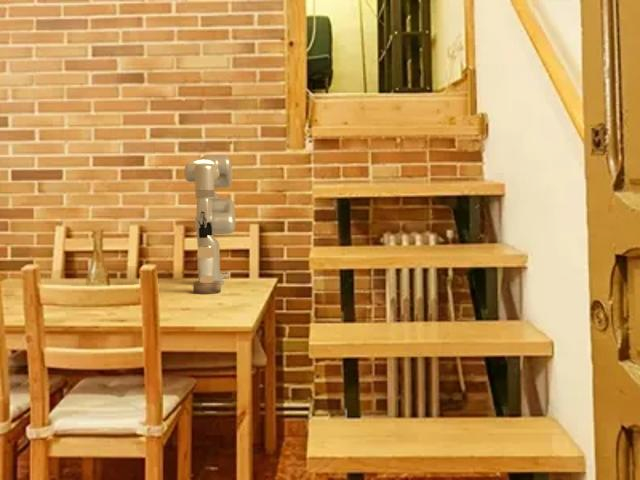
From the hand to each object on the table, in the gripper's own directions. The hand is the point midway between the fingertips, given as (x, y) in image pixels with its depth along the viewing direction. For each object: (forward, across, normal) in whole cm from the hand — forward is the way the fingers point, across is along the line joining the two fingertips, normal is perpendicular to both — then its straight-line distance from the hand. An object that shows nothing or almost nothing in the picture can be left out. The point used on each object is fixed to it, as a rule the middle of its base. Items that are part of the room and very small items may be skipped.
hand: (205, 236), depth 291 cm
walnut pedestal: (+23, +1, 0) cm, 23 cm away
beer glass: (+19, +1, 0) cm, 19 cm away
